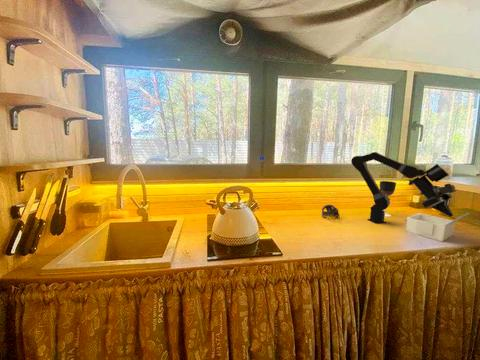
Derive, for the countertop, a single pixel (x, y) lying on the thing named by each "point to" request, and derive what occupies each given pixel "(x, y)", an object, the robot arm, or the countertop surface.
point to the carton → (430, 226)
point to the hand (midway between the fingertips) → (451, 216)
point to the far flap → (457, 219)
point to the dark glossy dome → (330, 211)
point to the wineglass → (387, 189)
